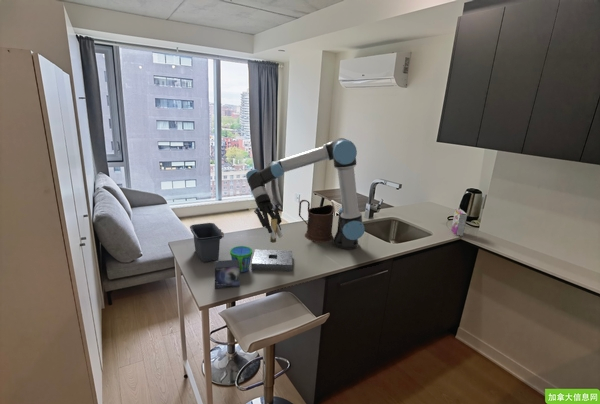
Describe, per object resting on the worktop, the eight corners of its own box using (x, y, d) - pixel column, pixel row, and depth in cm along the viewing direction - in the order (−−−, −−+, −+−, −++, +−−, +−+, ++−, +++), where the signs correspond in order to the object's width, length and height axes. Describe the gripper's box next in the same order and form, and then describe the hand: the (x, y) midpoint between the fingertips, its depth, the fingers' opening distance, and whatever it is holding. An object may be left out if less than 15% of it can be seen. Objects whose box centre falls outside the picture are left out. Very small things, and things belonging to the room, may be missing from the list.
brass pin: (276, 240, 156) (277, 218, 152) (276, 242, 153) (277, 220, 149) (270, 240, 155) (271, 218, 152) (270, 242, 153) (270, 220, 149)
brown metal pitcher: (338, 240, 191) (342, 202, 184) (303, 244, 182) (305, 204, 176) (325, 230, 208) (328, 194, 201) (292, 233, 199) (294, 196, 192)
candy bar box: (450, 230, 222) (455, 208, 218) (457, 231, 222) (462, 209, 217) (455, 235, 212) (460, 213, 207) (463, 236, 211) (468, 214, 207)
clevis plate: (291, 256, 166) (292, 250, 165) (291, 271, 150) (292, 264, 149) (255, 255, 165) (255, 249, 164) (251, 269, 149) (251, 263, 148)
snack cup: (249, 278, 142) (249, 258, 139) (226, 276, 142) (226, 257, 139) (254, 262, 157) (254, 244, 154) (233, 261, 157) (233, 243, 154)
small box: (214, 289, 131) (214, 267, 128) (214, 281, 137) (214, 260, 134) (239, 287, 134) (239, 265, 131) (238, 279, 140) (238, 259, 137)
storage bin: (189, 249, 167) (188, 224, 163) (217, 244, 175) (216, 221, 171) (198, 266, 150) (197, 239, 146) (228, 260, 158) (228, 234, 154)
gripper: (271, 198, 166) (287, 237, 158) (245, 202, 156) (260, 243, 148) (277, 191, 160) (294, 231, 152) (250, 194, 151) (266, 237, 143)
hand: (277, 237), depth 150 cm, fingers closed on brass pin, 3 cm apart
